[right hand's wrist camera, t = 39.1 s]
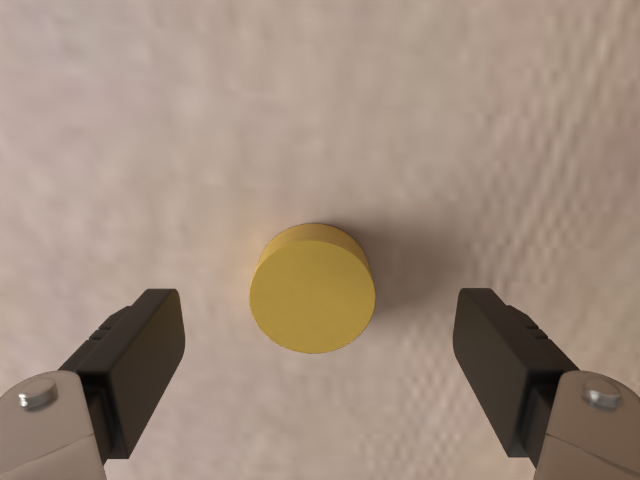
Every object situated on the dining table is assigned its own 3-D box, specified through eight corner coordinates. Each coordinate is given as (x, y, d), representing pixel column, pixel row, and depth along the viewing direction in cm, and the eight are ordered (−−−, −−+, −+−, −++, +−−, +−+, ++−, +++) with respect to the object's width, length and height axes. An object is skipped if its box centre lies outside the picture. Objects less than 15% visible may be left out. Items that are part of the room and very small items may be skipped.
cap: (346, 337, 17) (350, 367, 15) (245, 307, 16) (234, 334, 14) (386, 243, 15) (395, 263, 13) (275, 208, 15) (268, 223, 13)
